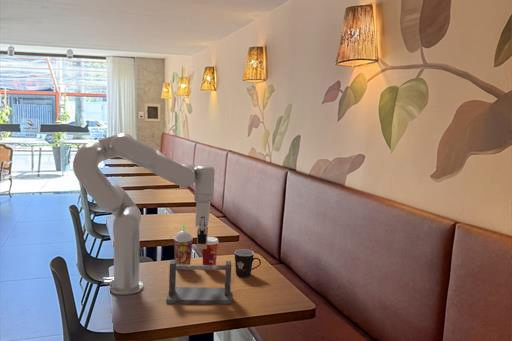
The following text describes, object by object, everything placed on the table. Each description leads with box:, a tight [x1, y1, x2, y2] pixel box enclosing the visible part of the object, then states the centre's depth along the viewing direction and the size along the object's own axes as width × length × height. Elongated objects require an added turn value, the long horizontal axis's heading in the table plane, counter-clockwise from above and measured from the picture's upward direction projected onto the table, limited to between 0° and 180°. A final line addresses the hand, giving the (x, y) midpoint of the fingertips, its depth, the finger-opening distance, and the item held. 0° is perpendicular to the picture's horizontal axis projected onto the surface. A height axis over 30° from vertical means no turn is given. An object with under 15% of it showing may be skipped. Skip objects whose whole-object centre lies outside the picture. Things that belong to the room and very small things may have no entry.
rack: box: [166, 259, 232, 305], centre depth 164 cm, size 24×11×14 cm, turn 95°
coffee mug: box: [234, 248, 262, 278], centre depth 188 cm, size 12×9×10 cm
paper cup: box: [201, 236, 219, 272], centre depth 193 cm, size 8×8×14 cm
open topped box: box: [196, 226, 209, 250], centre depth 172 cm, size 4×5×8 cm
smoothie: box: [173, 223, 194, 271], centre depth 192 cm, size 8×8×20 cm
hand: (202, 240), depth 172 cm, fingers closed on open topped box, 5 cm apart
